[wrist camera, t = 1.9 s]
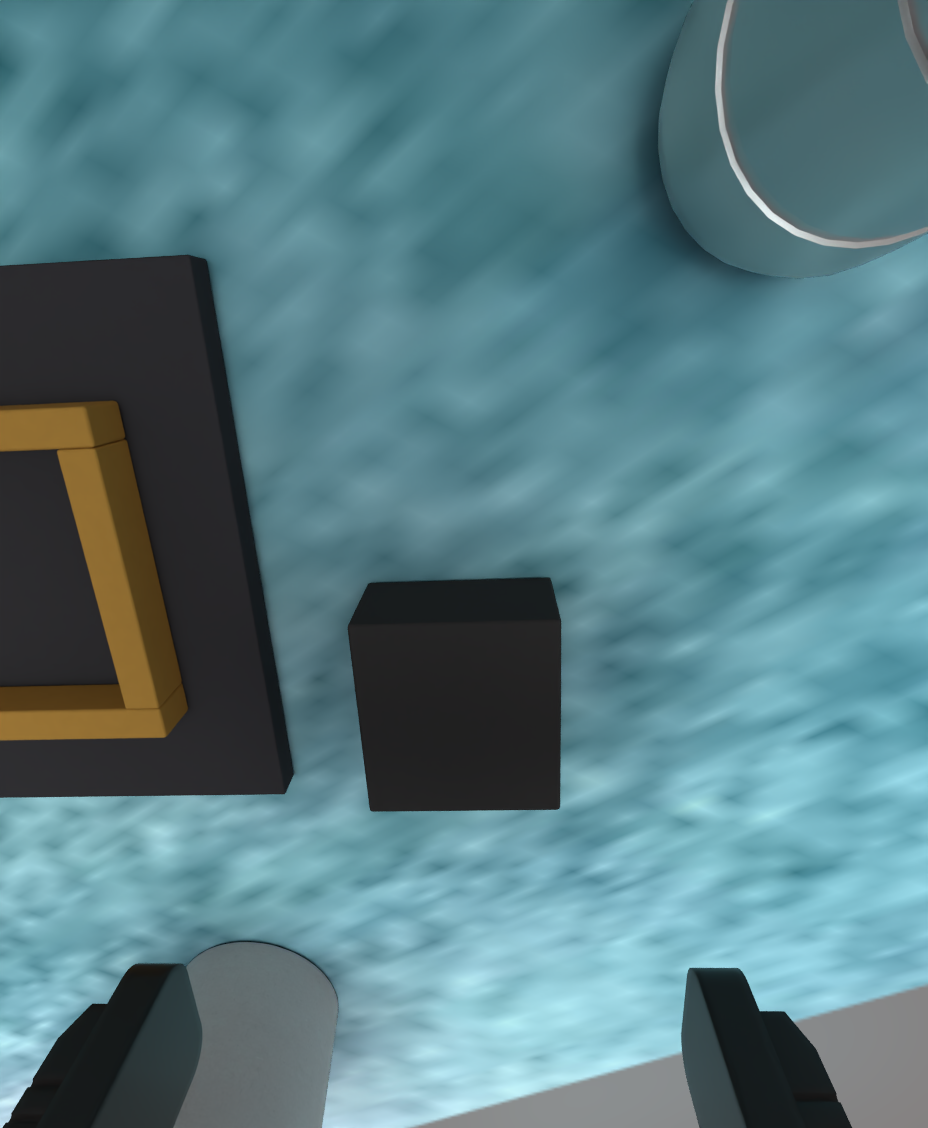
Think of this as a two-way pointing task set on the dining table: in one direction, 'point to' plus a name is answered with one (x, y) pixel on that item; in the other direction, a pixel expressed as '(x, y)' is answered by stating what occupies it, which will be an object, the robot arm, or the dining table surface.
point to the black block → (459, 694)
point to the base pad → (127, 543)
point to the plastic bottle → (798, 131)
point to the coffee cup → (260, 1039)
